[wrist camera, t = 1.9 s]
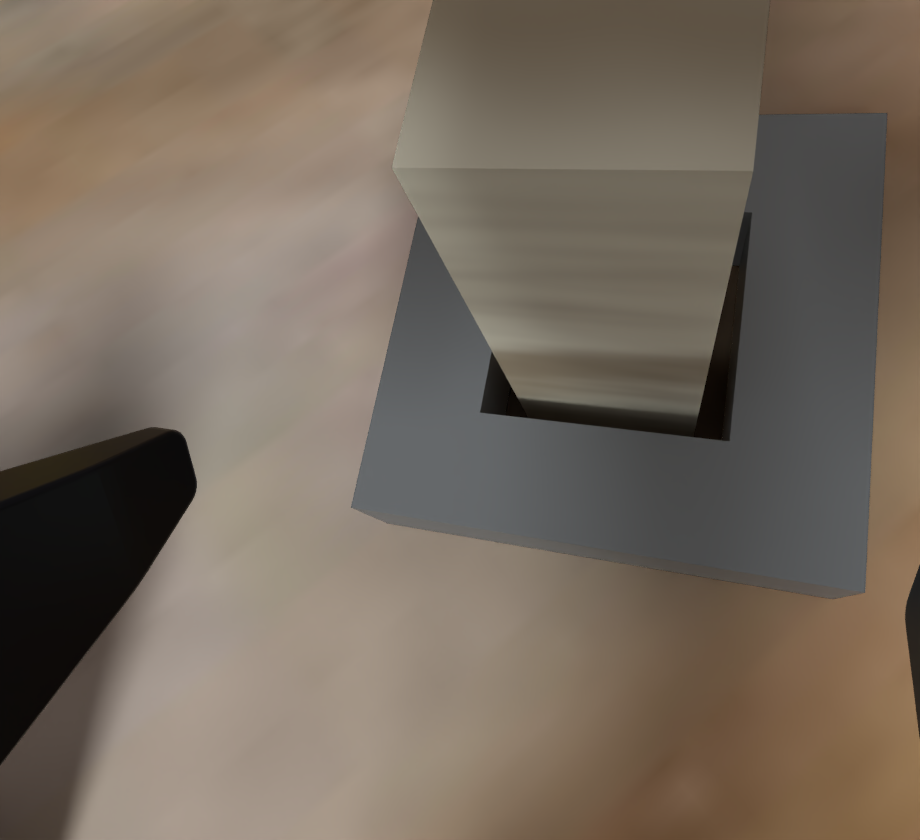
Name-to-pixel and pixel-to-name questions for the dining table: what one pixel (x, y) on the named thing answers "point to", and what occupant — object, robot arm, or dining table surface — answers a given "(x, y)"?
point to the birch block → (589, 190)
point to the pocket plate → (662, 455)
